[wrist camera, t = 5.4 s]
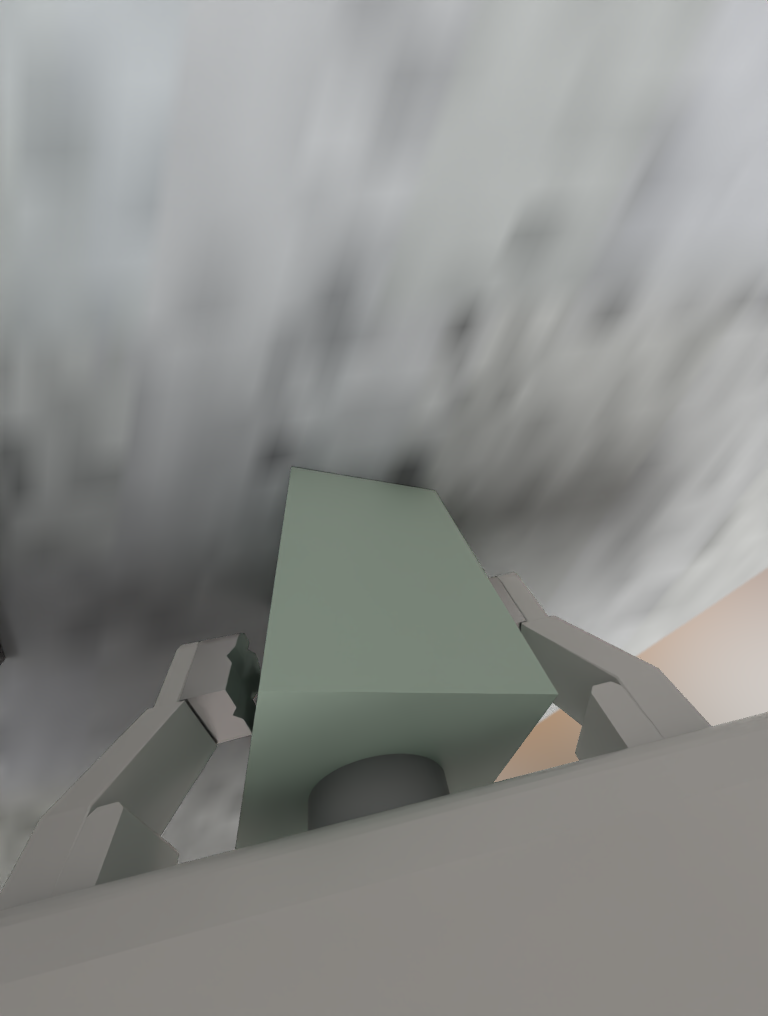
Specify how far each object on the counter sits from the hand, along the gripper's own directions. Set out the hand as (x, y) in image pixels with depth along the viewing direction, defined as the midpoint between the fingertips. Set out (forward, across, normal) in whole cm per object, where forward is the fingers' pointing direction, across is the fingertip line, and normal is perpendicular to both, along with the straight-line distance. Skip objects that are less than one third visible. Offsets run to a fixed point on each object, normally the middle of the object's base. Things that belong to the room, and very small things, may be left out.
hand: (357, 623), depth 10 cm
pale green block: (+3, 0, 0) cm, 3 cm away
